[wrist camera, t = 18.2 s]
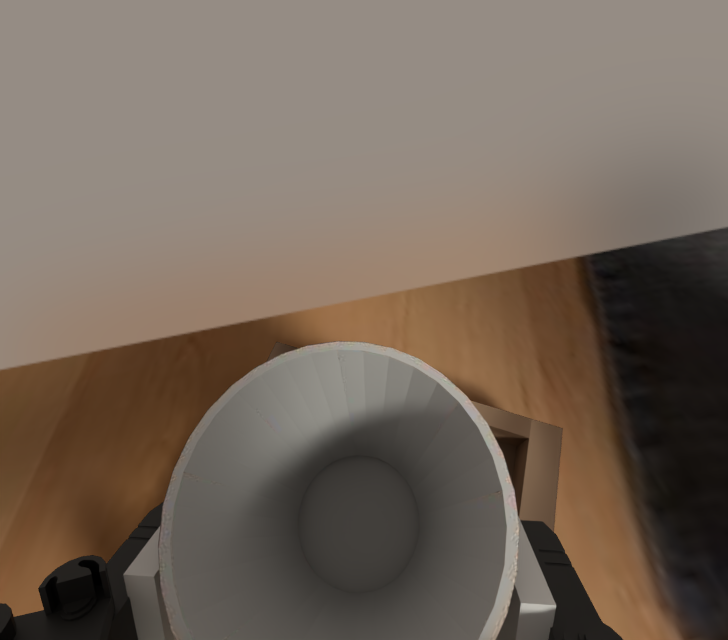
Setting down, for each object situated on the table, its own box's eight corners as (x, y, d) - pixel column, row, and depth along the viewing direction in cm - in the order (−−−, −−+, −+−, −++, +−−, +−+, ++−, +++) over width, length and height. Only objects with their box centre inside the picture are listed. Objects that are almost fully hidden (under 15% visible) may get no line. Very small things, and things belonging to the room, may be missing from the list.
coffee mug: (280, 427, 20) (204, 341, 12) (442, 427, 20) (488, 340, 11) (241, 735, 14) (30, 1026, 6) (471, 744, 14) (614, 1069, 5)
